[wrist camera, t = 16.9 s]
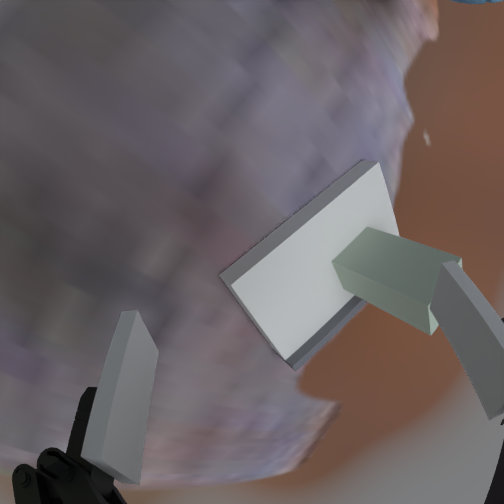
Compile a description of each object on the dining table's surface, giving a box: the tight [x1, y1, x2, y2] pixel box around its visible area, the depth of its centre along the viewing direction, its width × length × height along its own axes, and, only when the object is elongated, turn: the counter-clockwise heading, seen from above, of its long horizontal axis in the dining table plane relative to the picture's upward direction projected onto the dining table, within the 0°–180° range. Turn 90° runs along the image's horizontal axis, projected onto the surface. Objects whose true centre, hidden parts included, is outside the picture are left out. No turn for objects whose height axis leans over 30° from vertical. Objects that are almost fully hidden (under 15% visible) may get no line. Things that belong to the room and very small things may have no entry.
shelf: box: [219, 160, 399, 371], centre depth 39 cm, size 24×16×4 cm, turn 122°
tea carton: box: [332, 227, 462, 335], centre depth 33 cm, size 5×7×14 cm
